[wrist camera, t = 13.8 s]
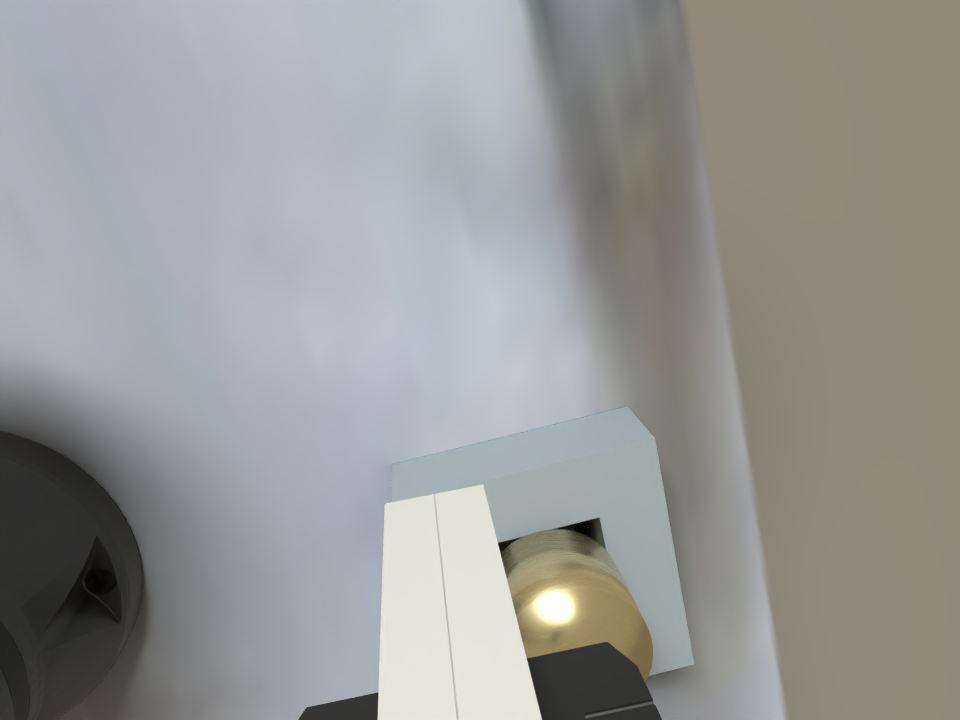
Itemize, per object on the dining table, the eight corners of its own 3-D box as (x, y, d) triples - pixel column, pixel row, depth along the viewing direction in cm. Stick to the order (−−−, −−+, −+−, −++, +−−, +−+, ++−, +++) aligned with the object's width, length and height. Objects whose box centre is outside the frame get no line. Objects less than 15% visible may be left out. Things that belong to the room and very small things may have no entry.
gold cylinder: (542, 618, 43) (583, 755, 34) (446, 554, 42) (461, 679, 32) (619, 528, 42) (685, 642, 33) (524, 460, 41) (564, 559, 31)
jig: (665, 612, 44) (694, 664, 39) (447, 668, 43) (452, 726, 39) (627, 406, 40) (655, 438, 36) (391, 464, 40) (390, 503, 36)
